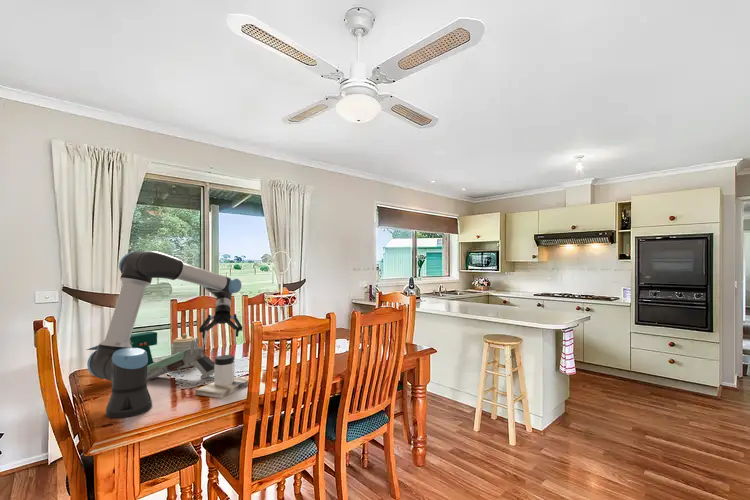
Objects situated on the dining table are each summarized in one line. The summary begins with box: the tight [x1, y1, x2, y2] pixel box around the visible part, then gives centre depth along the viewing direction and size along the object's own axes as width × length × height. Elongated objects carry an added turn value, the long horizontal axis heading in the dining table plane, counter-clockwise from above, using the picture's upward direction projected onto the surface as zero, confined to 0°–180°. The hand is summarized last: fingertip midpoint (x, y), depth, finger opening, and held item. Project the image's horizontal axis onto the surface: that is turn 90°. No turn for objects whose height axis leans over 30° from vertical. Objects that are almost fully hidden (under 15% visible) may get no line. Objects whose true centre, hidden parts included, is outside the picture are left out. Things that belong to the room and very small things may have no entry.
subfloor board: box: [194, 376, 249, 399], centre depth 170 cm, size 20×14×2 cm
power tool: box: [85, 330, 158, 366], centre depth 189 cm, size 32×7×20 cm, turn 148°
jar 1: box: [170, 333, 196, 369], centre depth 208 cm, size 13×13×18 cm
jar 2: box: [213, 354, 235, 386], centre depth 172 cm, size 9×8×12 cm
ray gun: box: [147, 337, 215, 381], centre depth 186 cm, size 7×32×20 cm, turn 93°
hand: (219, 342), depth 183 cm, fingers open, 13 cm apart
